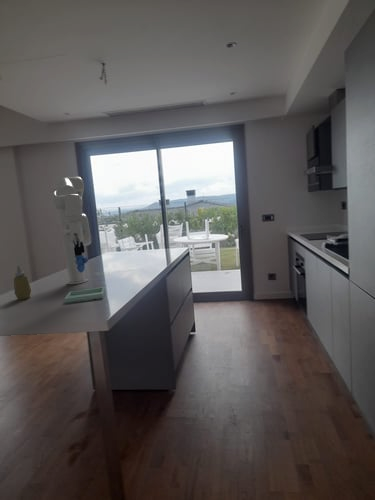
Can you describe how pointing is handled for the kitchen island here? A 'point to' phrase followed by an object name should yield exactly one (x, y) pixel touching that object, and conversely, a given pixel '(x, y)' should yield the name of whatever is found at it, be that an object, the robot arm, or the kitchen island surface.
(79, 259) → the grapes
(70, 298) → the tray
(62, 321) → the kitchen island surface
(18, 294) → the squeeze bottle
